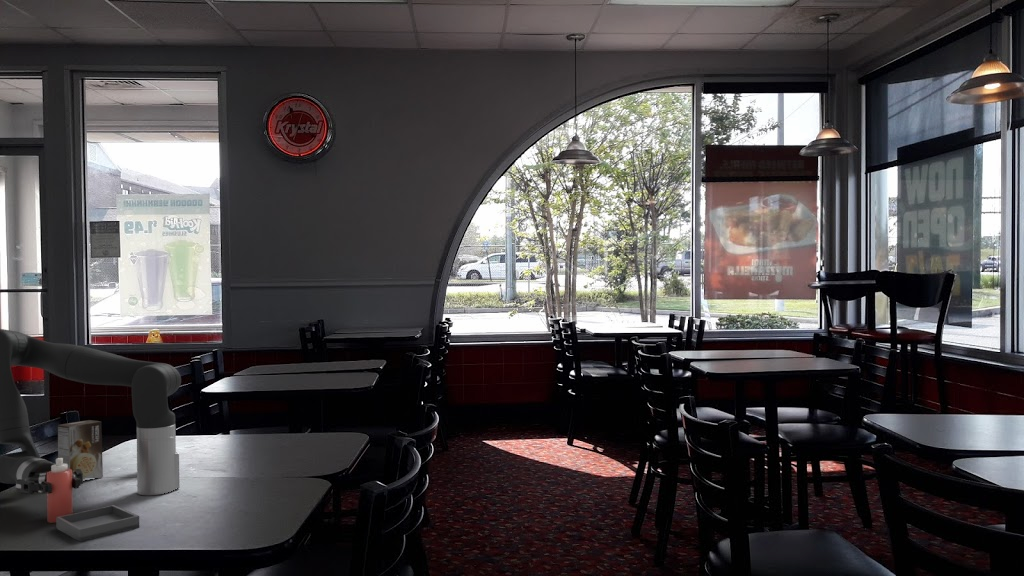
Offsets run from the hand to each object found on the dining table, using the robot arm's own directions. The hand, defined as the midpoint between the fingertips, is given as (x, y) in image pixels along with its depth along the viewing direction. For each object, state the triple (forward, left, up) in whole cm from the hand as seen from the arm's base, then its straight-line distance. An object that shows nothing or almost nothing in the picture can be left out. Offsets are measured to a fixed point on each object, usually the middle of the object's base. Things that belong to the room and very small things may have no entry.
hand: (63, 486), depth 169 cm
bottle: (0, -3, -8) cm, 8 cm away
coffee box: (-17, -40, -8) cm, 44 cm away
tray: (-3, +11, -8) cm, 14 cm away
